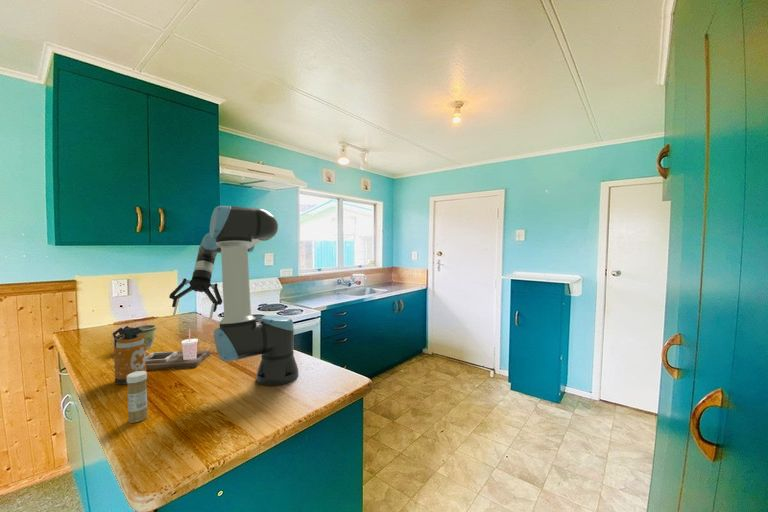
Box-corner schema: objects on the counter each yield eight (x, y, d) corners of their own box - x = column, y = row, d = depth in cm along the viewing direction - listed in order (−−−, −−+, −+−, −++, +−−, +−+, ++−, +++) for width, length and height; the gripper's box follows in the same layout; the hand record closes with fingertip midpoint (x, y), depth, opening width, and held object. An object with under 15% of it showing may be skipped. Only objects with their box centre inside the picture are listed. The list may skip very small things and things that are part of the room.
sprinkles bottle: (146, 413, 92) (145, 368, 91) (149, 419, 89) (148, 373, 88) (126, 419, 88) (125, 373, 88) (128, 425, 85) (127, 378, 85)
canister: (128, 387, 108) (127, 331, 107) (103, 383, 110) (102, 329, 110) (152, 376, 117) (151, 324, 116) (129, 373, 119) (127, 322, 118)
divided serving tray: (196, 367, 126) (196, 360, 126) (133, 370, 122) (133, 363, 122) (210, 354, 141) (210, 347, 141) (154, 357, 137) (154, 350, 137)
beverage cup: (201, 360, 133) (200, 328, 133) (186, 365, 128) (185, 331, 128) (193, 357, 137) (193, 326, 136) (178, 362, 131) (178, 329, 131)
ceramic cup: (152, 349, 146) (152, 329, 146) (126, 352, 142) (126, 331, 142) (161, 341, 158) (160, 322, 158) (137, 344, 154) (137, 324, 154)
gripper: (230, 280, 151) (222, 322, 140) (170, 270, 138) (156, 315, 127) (233, 274, 146) (226, 317, 135) (171, 263, 133) (158, 309, 122)
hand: (192, 316), depth 131 cm, fingers open, 13 cm apart
